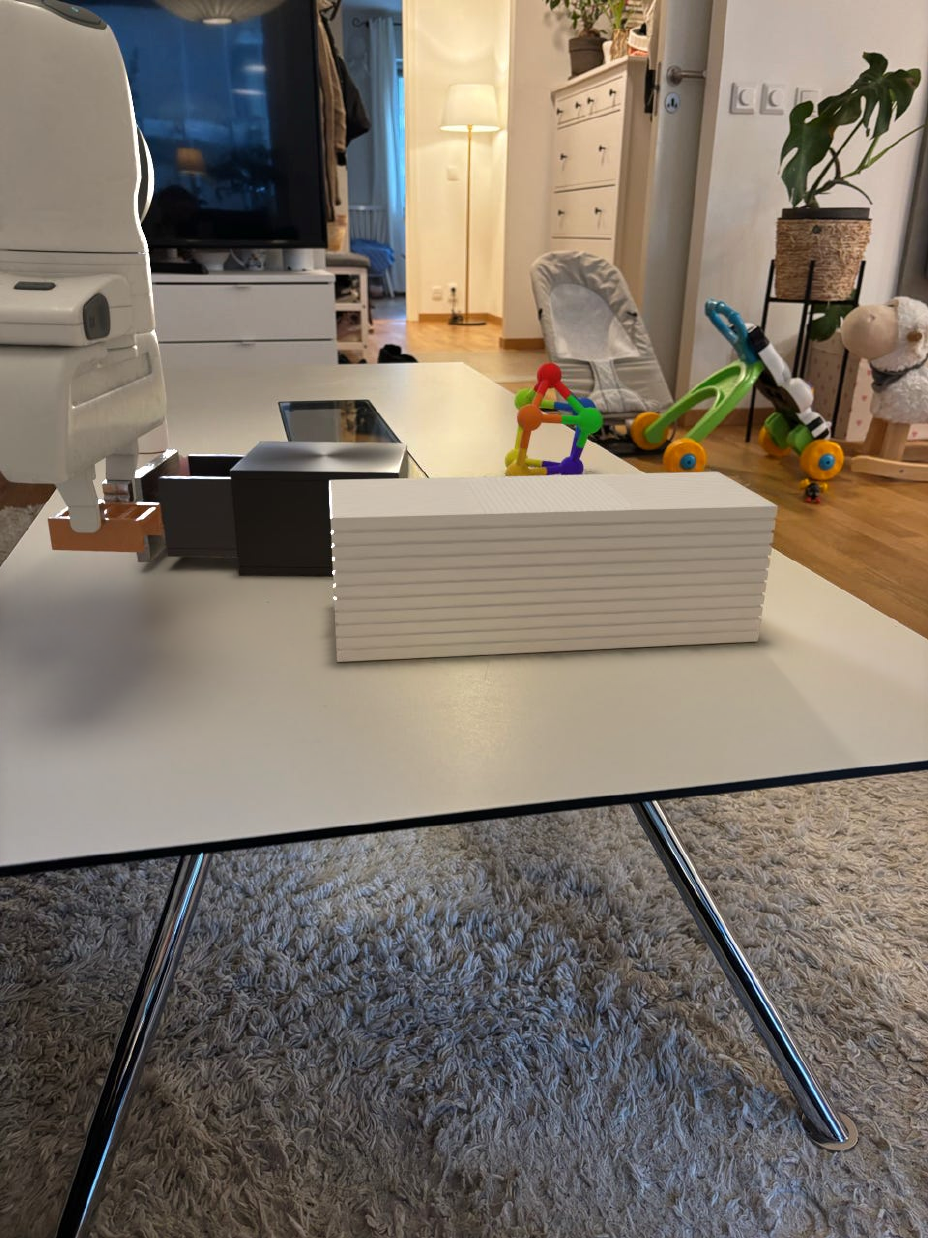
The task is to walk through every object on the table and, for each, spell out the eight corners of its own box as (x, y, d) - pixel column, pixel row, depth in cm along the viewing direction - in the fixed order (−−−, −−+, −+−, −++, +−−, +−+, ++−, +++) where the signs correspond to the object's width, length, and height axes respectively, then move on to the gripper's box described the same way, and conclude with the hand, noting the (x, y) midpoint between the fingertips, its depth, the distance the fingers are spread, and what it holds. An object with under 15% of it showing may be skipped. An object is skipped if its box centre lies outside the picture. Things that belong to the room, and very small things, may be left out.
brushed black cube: (238, 575, 82) (229, 470, 78) (266, 533, 94) (259, 441, 90) (400, 577, 82) (398, 472, 78) (408, 535, 94) (407, 442, 90)
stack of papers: (703, 592, 79) (718, 471, 75) (757, 642, 70) (778, 505, 66) (334, 607, 75) (329, 479, 71) (336, 662, 65) (330, 517, 61)
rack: (51, 550, 60) (46, 518, 59) (78, 530, 64) (74, 500, 64) (142, 552, 60) (138, 520, 59) (163, 532, 64) (160, 502, 64)
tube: (164, 503, 104) (149, 368, 98) (129, 501, 105) (112, 367, 99) (181, 494, 108) (167, 363, 102) (147, 492, 109) (131, 362, 103)
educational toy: (612, 498, 113) (625, 376, 106) (510, 501, 111) (516, 377, 104) (578, 459, 126) (588, 349, 119) (487, 461, 124) (491, 349, 117)
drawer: (124, 561, 82) (112, 477, 79) (162, 525, 93) (154, 449, 90) (286, 564, 82) (281, 479, 79) (306, 527, 93) (302, 451, 90)
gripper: (91, 291, 66) (114, 478, 71) (-60, 311, 47) (-14, 564, 52) (178, 294, 66) (194, 481, 71) (62, 315, 47) (96, 567, 52)
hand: (105, 517), depth 62 cm, fingers closed on rack, 4 cm apart
